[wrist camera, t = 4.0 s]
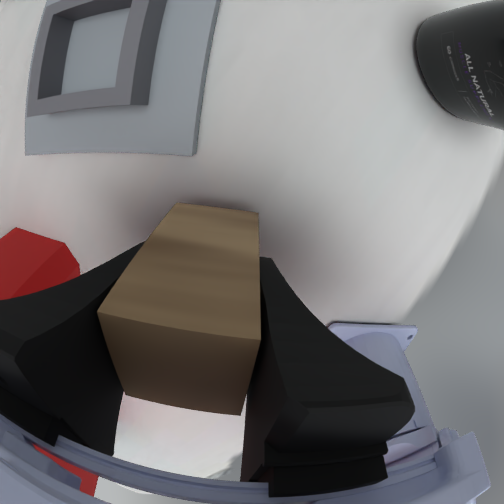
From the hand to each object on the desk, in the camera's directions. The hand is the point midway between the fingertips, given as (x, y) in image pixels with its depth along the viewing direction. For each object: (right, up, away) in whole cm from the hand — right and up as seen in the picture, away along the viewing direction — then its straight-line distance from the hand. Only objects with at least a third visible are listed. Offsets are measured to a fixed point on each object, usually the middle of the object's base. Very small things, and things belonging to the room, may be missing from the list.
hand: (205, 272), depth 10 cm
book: (-17, -9, +11) cm, 23 cm away
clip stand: (-6, +11, -1) cm, 12 cm away
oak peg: (0, +1, +2) cm, 2 cm away
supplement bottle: (+14, +12, -1) cm, 18 cm away
